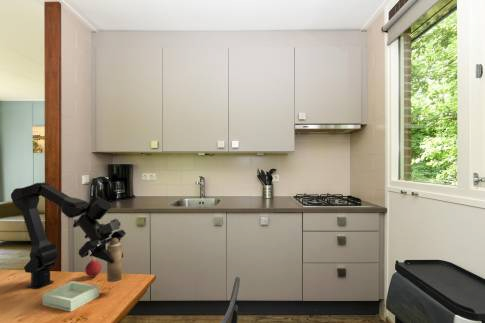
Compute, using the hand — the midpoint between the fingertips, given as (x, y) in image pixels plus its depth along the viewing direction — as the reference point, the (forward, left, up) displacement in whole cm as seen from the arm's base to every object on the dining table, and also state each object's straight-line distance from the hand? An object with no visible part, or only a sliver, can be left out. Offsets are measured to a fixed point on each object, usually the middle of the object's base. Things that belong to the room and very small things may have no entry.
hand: (117, 259), depth 101 cm
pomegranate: (-21, +8, -12) cm, 25 cm away
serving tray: (-12, -9, -12) cm, 19 cm away
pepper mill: (-1, 0, -7) cm, 7 cm away
